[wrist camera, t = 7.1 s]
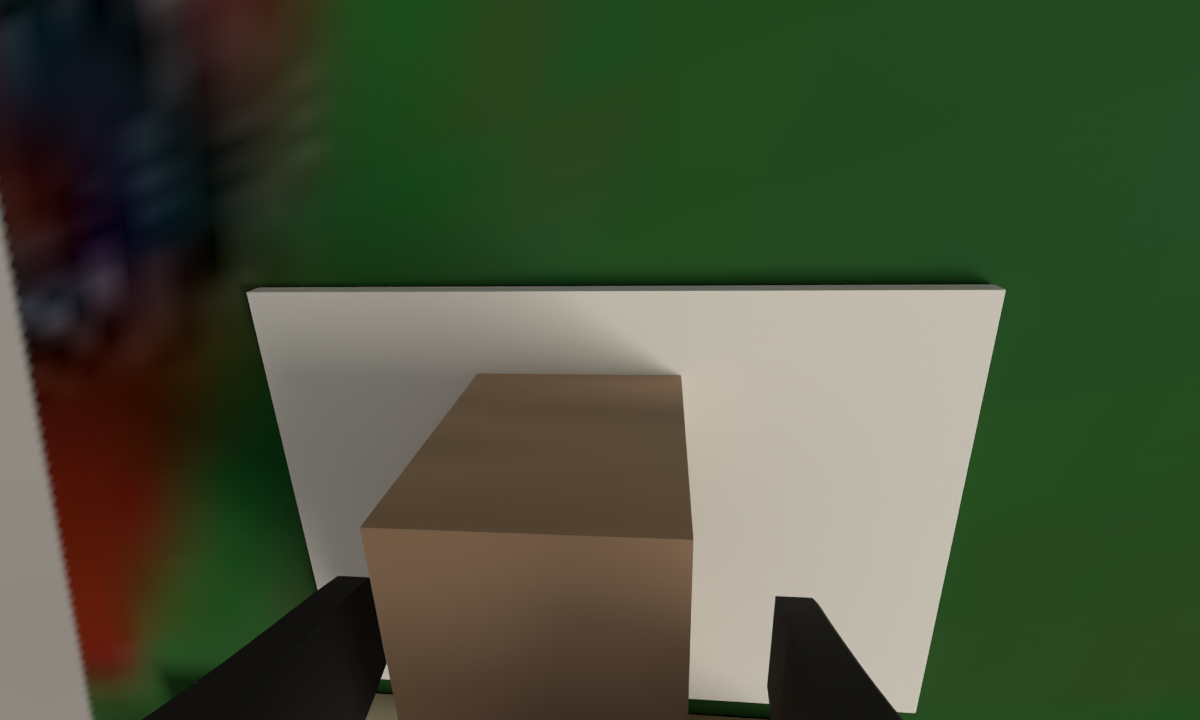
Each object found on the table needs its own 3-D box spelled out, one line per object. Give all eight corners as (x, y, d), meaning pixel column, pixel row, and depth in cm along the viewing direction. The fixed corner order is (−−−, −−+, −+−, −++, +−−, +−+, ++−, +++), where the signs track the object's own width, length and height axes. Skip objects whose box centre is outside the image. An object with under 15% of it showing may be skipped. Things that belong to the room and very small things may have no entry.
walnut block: (674, 687, 14) (680, 952, 10) (510, 676, 15) (439, 928, 10) (680, 375, 12) (692, 539, 7) (477, 373, 12) (359, 527, 7)
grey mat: (908, 697, 14) (915, 713, 14) (345, 663, 16) (338, 676, 15) (994, 284, 11) (1006, 290, 10) (259, 287, 12) (245, 292, 12)
